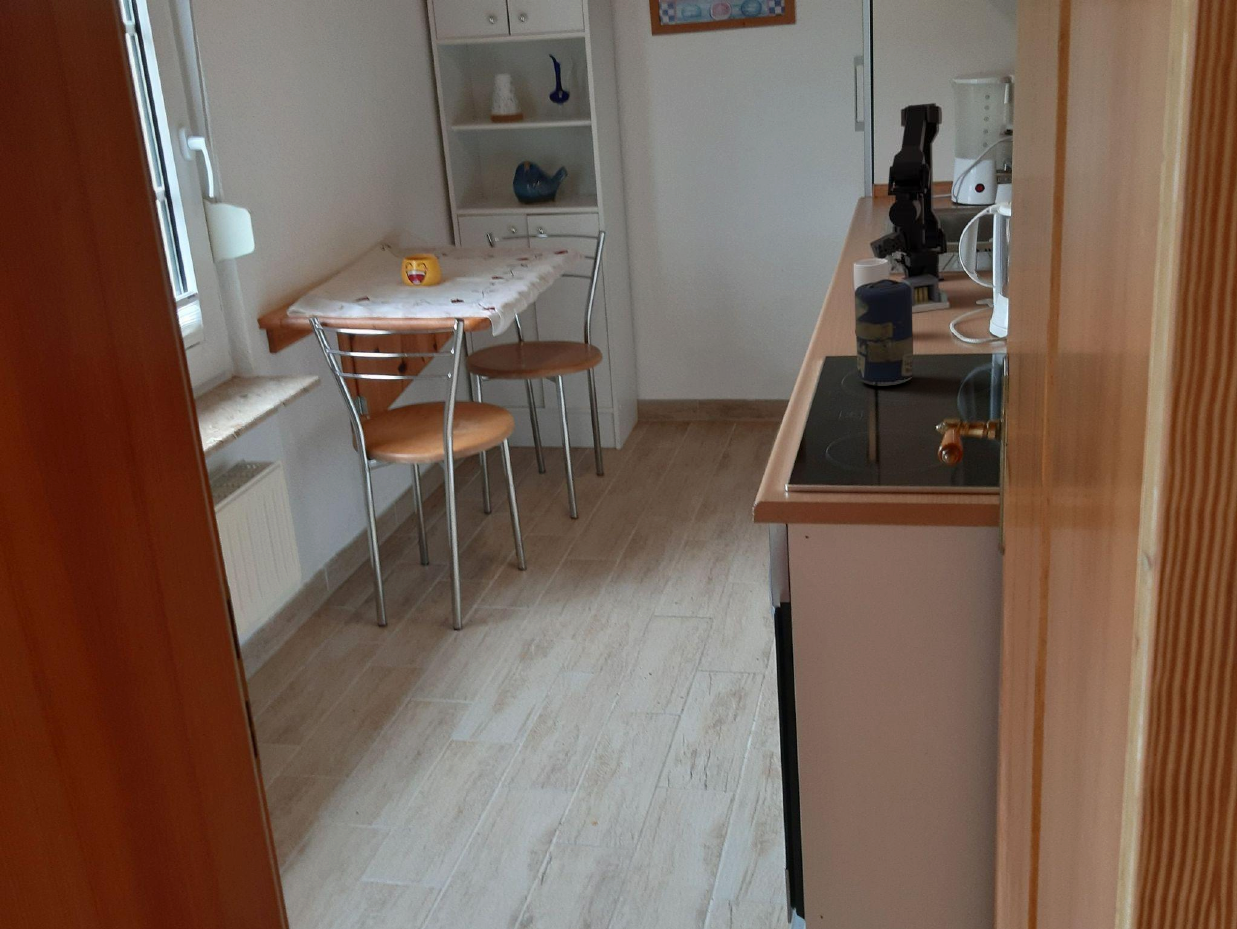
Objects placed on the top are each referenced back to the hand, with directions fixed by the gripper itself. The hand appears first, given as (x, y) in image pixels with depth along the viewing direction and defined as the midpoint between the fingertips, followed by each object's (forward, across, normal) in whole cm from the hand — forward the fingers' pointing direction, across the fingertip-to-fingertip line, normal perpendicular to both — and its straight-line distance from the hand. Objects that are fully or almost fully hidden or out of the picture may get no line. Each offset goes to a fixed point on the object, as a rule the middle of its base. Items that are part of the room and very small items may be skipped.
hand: (912, 291), depth 260 cm
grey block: (+1, +5, 0) cm, 5 cm away
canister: (+3, +56, -23) cm, 61 cm away
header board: (+2, 0, 0) cm, 2 cm away
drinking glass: (+3, +25, -16) cm, 30 cm away
